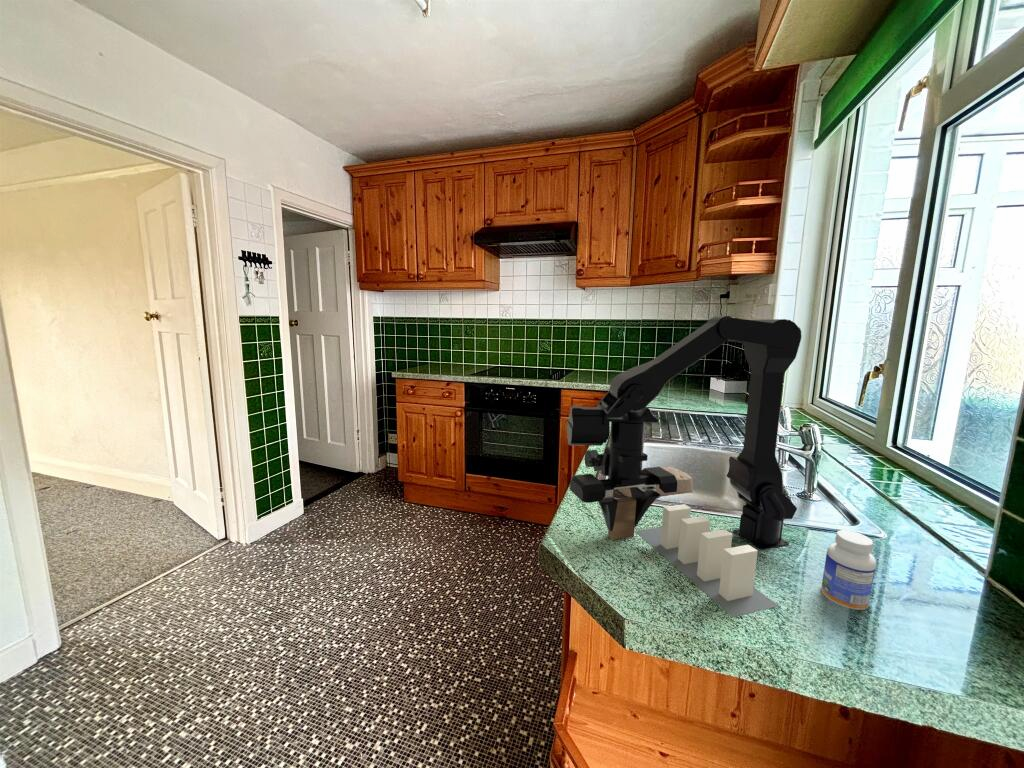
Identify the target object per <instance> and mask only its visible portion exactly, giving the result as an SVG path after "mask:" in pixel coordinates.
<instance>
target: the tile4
mask: <svg viewBox="0 0 1024 768" xmlns="http://www.w3.org/2000/svg"><path fill="white" fill-rule="evenodd" d="M732 541H733V534H732V533H731V532H730V531H727V530H726V529H718V530H713V531H709V532H704V533H701V536H700V546H699V557H698V568H697V576H699V577H700V578H701V579H702V580H703V581H709V580H714V579H719V578H721V569H722V559H723V550H724V549H727V548H732Z"/></svg>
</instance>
